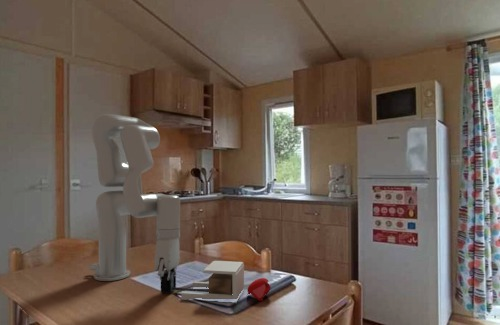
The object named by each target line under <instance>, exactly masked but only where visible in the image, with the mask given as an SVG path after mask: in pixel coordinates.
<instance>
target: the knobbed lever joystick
mask: <svg viewBox="0 0 500 325" xmlns="http://www.w3.org/2000/svg"><path fill="white" fill-rule="evenodd" d="M164 273H166V275H167V272H164ZM170 280H171V292H170V293H169V294H171V293H173V292H174V291H182V292H198V293H211V294H226V295H232V294H233V283H232V274H216V273H211V275H210V276H209V278H208V282H209V289H193V287H178V286H176V287H173V272H171V271H170Z"/></svg>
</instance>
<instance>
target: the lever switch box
mask: <svg viewBox="0 0 500 325" xmlns="http://www.w3.org/2000/svg"><path fill="white" fill-rule="evenodd" d="M213 273H216V274H232V283H233V295H226V294H211V293H209V292H196V291H182V292H181V293H180V294H181V297H180V298H181V300H182V301H184V300H185V301H188V300H187V299H195V298H202V299H237V298H238V296H239V294H240V293H241V291H242V290H243V288H244V289H245V264H244V261H231V260H228V261H227V260H213V261H211V263H209V265H207V266H206V267H205V268H204V269H203V274H213ZM193 287H206V288H207V287H208V288H209V281H192V288H193Z"/></svg>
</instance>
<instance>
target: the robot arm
mask: <svg viewBox="0 0 500 325" xmlns="http://www.w3.org/2000/svg"><path fill="white" fill-rule="evenodd" d="M91 136H92V140H93V144H94V147H95V152H96V163H97V176H98V182H99V184H100V185H101V186H102V187H104V188H122V190H109V191H104V192H101V193H100V194H99V195H98V196H97V197H96V200H95V208H96V213H97V219H98V263H91V265H90V267H89V270H90V271H95V273H94V275H93V279H94V280H96V281H99V282H100V281H101V282H113V281H118V280H122V279H125V278H128V277H129V276H130V275H131V270H129V269H128V268H127V227H126V223H125V222H124V220H123V218H122V216H128V215H130V216H132V217H133V218H135V219H141V218H142V219H143V218H149V217H156V243H155V252H154V270H155V271H156V272H157V271H158V272H157V276H159V280H160V293H163V294H171V293H170V292H171V280H170V271H171V272H173V287H177V286H176V285H177V282H176V281H177V278H176V276H177V268H178V265H179V263H180V258H181V254H180V252H181V250H180V249H181V248H180V239H181V198H180V196H178V195H176V194H175V195H174V194H164V193H145V194H144V193H143V192H144V191H143V181H142V174H144V173H146V172H147V171H149V170H152V168H153V167H154V164H155V162H154V159H153V156H152V152H151V150H155V149H157V148H158V147H159V145H160V143H161V136H160V133H159V131H158V130H157V128H155V127H154V126H153V125H151V124H149V123H147V122H145V121H144V120H143V119H142V120H141V119H140V118H137V117H133V116H128V115H120V114H112V113H103V114H100V115H98V116H97V117H96V118H95V119H94V121H93V122H92V127H91ZM115 138H118V139H120V140H121V145H122V148H123V151H124V152H123V153H124V155H125V160H126V161H125V162H123V160H122V153H121V149H120V147H119V145H118V143H117V142H116V141H115ZM164 272H167V275H166V273H164Z"/></svg>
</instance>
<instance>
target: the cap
mask: <svg viewBox="0 0 500 325" xmlns="http://www.w3.org/2000/svg"><path fill="white" fill-rule="evenodd" d="M271 288H272V287H271V285H270V283H269V280H268V279H267V278H263V277H261V278H257V279H254V280H253V281H252V282H251V283H249V285H248V287H247V294H246V296H247V295H248V294H250V293H251V294H250V295H252V296H253V298H255V299H256V300H257V301H259V302H263V300H264V299H263V298H264V297H265V296H264V295H265V294H266V296H267V295H268V294H269V292H270V290H271Z"/></svg>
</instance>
